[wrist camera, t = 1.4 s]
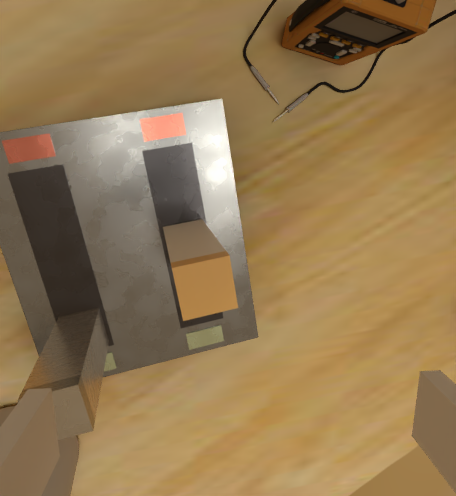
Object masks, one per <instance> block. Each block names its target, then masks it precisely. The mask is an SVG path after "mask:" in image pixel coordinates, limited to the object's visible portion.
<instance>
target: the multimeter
mask: <svg viewBox="0 0 456 496" xmlns="http://www.w3.org/2000/svg"><path fill="white" fill-rule="evenodd" d="M276 1H277V0H273V1H272V2H271V4H270V5H269V6H268V8H267V10H266V11H265V13H264V14H263V16H262V17H261V19H260V20H259V22H258V24H257V25H256V27H255V29H254V30H253V32H252V33H251V35H250V37H249V38H248V40H247V42H246V44H245V47H244V51H243V55H244V58H245V60H246V62H247V64H248V65H249V66H250V69H251V70H252V72H253V74H254V75H255V76H256V78H257V79H258V80H259V82H260V83H261V84H262V86H263V87H264V88H265V91H266V90H268V91H269V93H270V94H271V95H272V97H273V98H274V99H275V101H276V102H277V103H278V104H279V102H278V100H277V99H276V98H275V96H274V95H273V94H272V92H271V91H270V90H269V87H270V86H268V84H267V83H266V82H265V80H264V79H263V78H262V76H261V75H260V74H259V72H258V71H257V69H256V68H255V67H254V66H253V65H251V63H250V62H249V60H248V59H247V56H246V48H247V45H248V43H249V41H250V40H251V38H252V36H253V35H254V33H255V32H256V30H257V28H258V27H259V25H260V24H261V22H262V21H263V19H264V18H265V16H266V15H267V13H268V12H269V10H270V9H271V7H272V6H273V5H274V3H275V2H276ZM435 3H436V0H306V1H305V2H304V3H302V4H301V5H300V6H299V7H298V8H297V10H296V11H295V12H294V13H292V14H291V15H290V16H289V17H288V18H287V22H286V26H285V31H284V35H283V40H282V46H283V47H284V48H287V49H290V50H295V51H298V52H301V53H304V54H308V55H311V56H314V57H317V58H320V59H324V60H327V61H330V62H332V63H335V64H339V65H345V64H347V63H349V62H352V61H355V60H357V59H360V58H362V57H365V56H368V55H370V54H373V53H376V52H378V51H380V53H379V54H378V56H377V58H376V60H375V62H374V64H373V66H372V68H371V70H370V72H369V74H368V75H367V77H366V78H365V80H364V81H363V82H362V83H361V84H360V85H359V86H357V87H356V88H353V89H349V90H339V89H337V88H335V87H334V86H332V85H331V84H329V83H327V82H321V83H319V84H317V85H316V86H315V87H314V88H312V89H311V90H310V91H309V92H308V93H305V94H304V95H302V96H301V97H300V98H298V99H297V100H296V101H295V102H293V103H292V104H291V105H290V106H289V107H286V111H284V112H283V113H282V114H281V115H279V116H278V117H277V118H276V119H275V120H274V121H276V120H277V119H279V118H280V117H281V116H282V115H284V114H285V113H286V112H288V113H289V112H290V111H291V110H292V109H293V108H295V107H296V106H297V105H298V104H300V103H301V102H302V101H303V100H305V99H306V97H307V96H308V95H309V94H310V93H311V92H312V91H313V90H315V89H316V88H317V87H319V86H320V85H323V84H324V85H327V86H329V87H330V88H332V89H333V90H335V91H337V92H341V93H345V92H350V91H354V90H357V89H358V88H360V87H361V86H362V85H363V84H364V83H365V82H366V81H367V79H368V78H369V76H370V75H371V73H372V71H373V69H374V67H375V65H376V63H377V61H378V59H379V57H380V55H381V54H382V53H383V52H384V51H385V50H386V49H387V48H389V47H391V46H394V45H398V44H403V43H407V42H409V41H410V40H412V39H413V38H415V37H416V36H418V35H421V34H423V33H425V32H427V30H428V29H429V28H430V27H432V26H434V25H435V24H437V23H439V22H441V21H442V20H444V19H446V18H448V17H450V16H452V15H454V14H456V10H454V11H452V12H450V13H449V14H447V15H445V16H443V17H441V18H439V19H437V20H436V21H434V22H433V23H431V24H430V20H431V17H432V13H433V10H434V7H435ZM274 121H273V122H274Z"/></svg>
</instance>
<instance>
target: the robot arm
mask: <svg viewBox="0 0 456 496" xmlns="http://www.w3.org/2000/svg"><path fill="white" fill-rule="evenodd" d="M412 437H413V438H414V439H415V440H416V442H417V443H418V444H419V446H420V447H421V448H422V450H423V451H424V452H425V453H426V455H427V456H428V457H429V459H430V460H431V461H432V463H433V464H434V465H435V467H436V468H437V469H438V470H439V472H440V473H441V475H442V476H443V477H444V479H445V480H446V481H447V482H448V484H449V485H450V486H451V488H452V489H453V490H454V492H455V493H456V384H455V383H454V382H453V381H452V380H450V379H449V378H448V377H447V376H446V375H445V374H444V373H442V372H441V371H440V370H438V371H420V376H419V384H418V392H417V400H416V407H415V415H414V423H413V431H412ZM59 457H60V452H59V445H58V437H57V429H56V421H55V413H54V405H53V398H52V390H51V388H43V389H28V390H27V391H26V393H25V394H24V395H23V397H22V398H21V400H20V401H19V402H18V404H17V405H16V406H15V408H14V409H13V410H12V412H11V413H10V414H9V416H8V417H7V418H6V420H5V421H4V422H3V424H2V425H1V427H0V496H42V493H43V491H44V489H45V487H46V485H47V483H48V481H49V478H50V476H51V474H52V472H53V470H54V468H55V466H56V464H57V461H58V459H59Z"/></svg>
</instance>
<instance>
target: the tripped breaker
mask: <svg viewBox="0 0 456 496" xmlns="http://www.w3.org/2000/svg"><path fill="white" fill-rule="evenodd" d="M163 230H164V235H165V240H166V244H167V249H168V254H169V258H170V263H171V267H172V272H173V277H174V281H175V286H176V290H177V295H178V299H179V304H180V309H181V313H182V318H183V321H186V320H190V319H194V318H198V317H203V316H207V315H211V314H215V313H219V312H223V311H227V310H231V309H236V308H238V303H237V297H236V291H235V285H234V279H233V273H232V267H231V261H230V255H229V254H228V253H227V251H226V250H225V249H224V247H223V246H222V245H221V244H220V242H219V241H218V240H217V238H216V237H215V236H214V234H213V233H212V232H211V230H210V229H209V228H208V226H207V225H206V224H205V222H204V221H203V220H202V219H200V220H195V221H190V222H185V223H180V224H175V225H170V226H165V227H163Z"/></svg>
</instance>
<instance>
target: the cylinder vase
mask: <svg viewBox="0 0 456 496" xmlns="http://www.w3.org/2000/svg"><path fill="white" fill-rule="evenodd" d="M14 408H15V406H11V407H6V408H2V409H0V427H1V425H2V424H3V422H4V421H5V420H6V418H7V417H8V416H9V414H10V413H11V412H12V410H13V409H14ZM58 445H59V452H60V457H59V459H58V461H57V464H56V466H55V468H54V470H53V472H52V474H51V476H50V478H49V481H48V483H47V485H46V487H45V489H44V491H43V493H42V496H70V494H71V489H72V484H73V479H74V475H75V470H76V465H77V460H78V455H79V444H78V439H77V436H72V437H69V438H65V439H61V440H58Z"/></svg>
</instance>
